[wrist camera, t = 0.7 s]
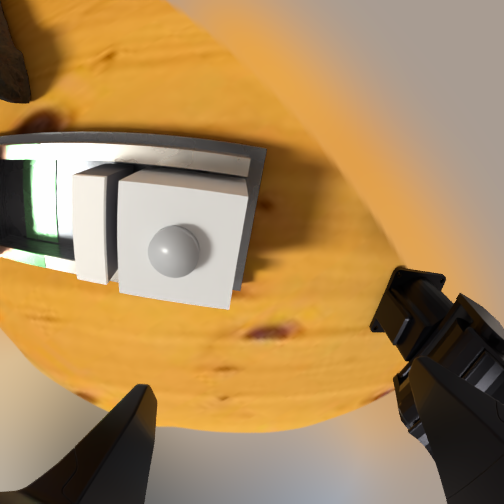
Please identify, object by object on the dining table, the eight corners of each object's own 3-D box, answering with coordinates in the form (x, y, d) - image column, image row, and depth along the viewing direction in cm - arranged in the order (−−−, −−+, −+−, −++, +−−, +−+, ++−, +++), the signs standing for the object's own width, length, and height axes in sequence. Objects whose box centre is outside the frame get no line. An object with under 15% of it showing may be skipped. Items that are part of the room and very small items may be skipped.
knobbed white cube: (245, 178, 17) (249, 200, 12) (230, 267, 19) (228, 316, 14) (148, 166, 16) (113, 183, 11) (143, 255, 18) (115, 298, 14)
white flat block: (133, 165, 16) (104, 177, 12) (130, 253, 18) (106, 284, 14) (105, 163, 16) (71, 174, 12) (104, 249, 18) (77, 278, 14)
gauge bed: (265, 147, 17) (278, 155, 12) (239, 283, 21) (241, 336, 16) (-10, 137, 15) (-57, 148, 9) (-5, 242, 19) (-43, 270, 13)
